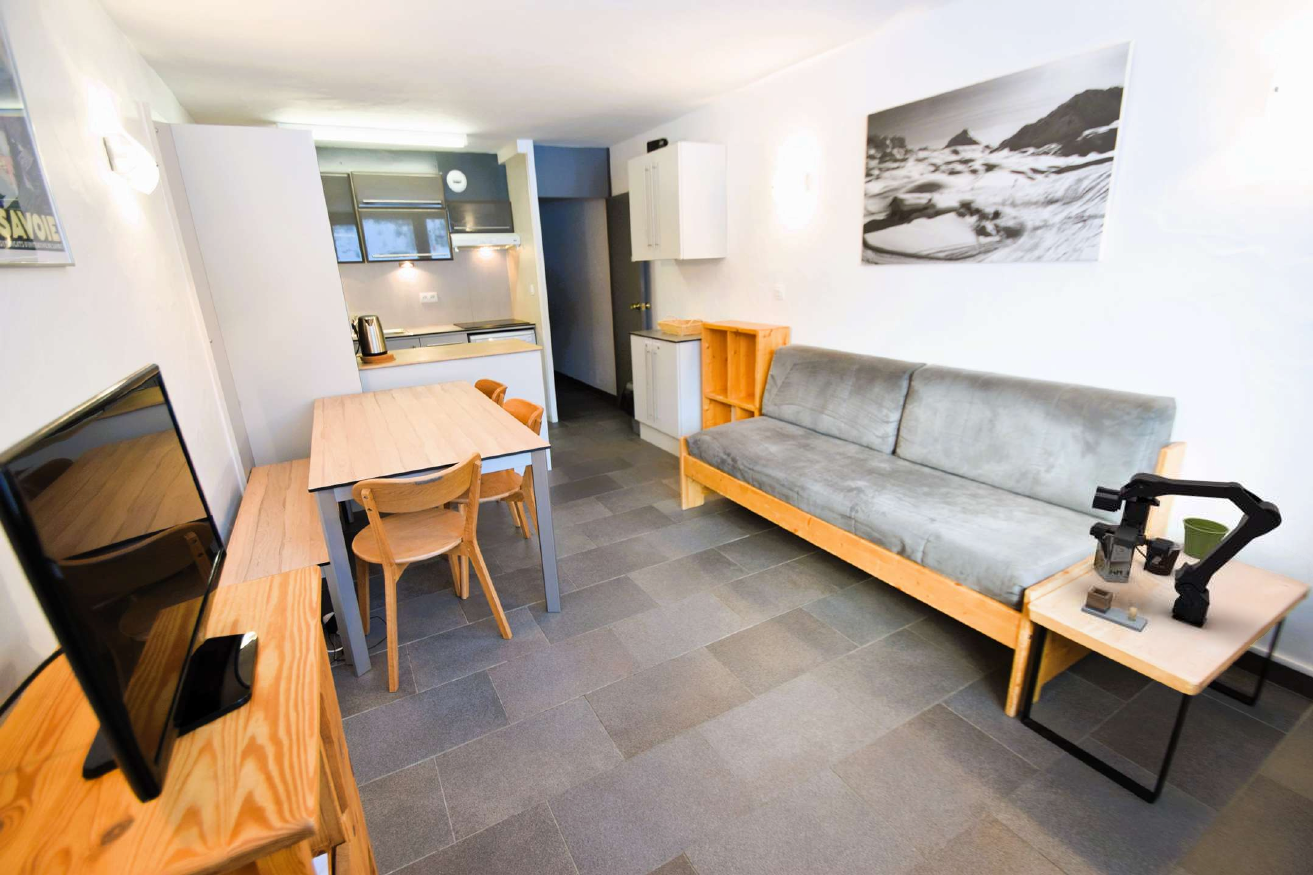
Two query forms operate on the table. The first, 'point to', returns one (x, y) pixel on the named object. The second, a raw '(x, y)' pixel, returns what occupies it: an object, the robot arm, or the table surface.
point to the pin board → (1121, 617)
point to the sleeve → (1099, 600)
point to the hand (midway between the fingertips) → (1124, 564)
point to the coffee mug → (1162, 560)
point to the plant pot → (1202, 536)
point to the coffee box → (1114, 561)
